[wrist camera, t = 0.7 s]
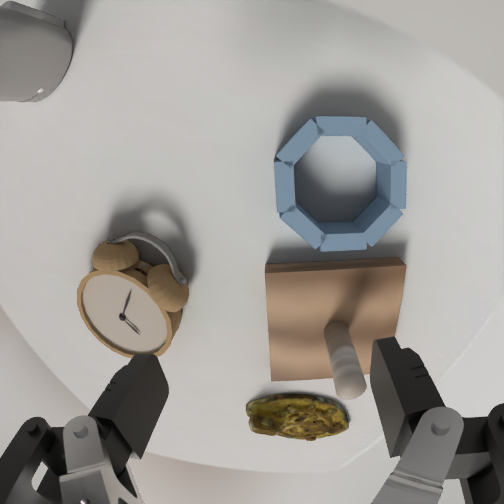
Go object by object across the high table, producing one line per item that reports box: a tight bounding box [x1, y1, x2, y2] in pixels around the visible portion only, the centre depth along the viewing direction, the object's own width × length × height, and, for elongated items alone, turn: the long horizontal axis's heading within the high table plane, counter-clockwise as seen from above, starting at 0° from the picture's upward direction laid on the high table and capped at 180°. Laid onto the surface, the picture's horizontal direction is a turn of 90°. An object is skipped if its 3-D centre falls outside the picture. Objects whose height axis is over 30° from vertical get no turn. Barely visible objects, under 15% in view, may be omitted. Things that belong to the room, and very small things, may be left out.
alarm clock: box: [77, 232, 189, 358], centre depth 28 cm, size 11×5×15 cm
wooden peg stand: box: [265, 257, 406, 400], centre depth 25 cm, size 13×13×10 cm
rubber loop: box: [274, 116, 407, 252], centre depth 23 cm, size 10×10×4 cm
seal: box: [246, 394, 349, 441], centre depth 34 cm, size 9×5×15 cm
